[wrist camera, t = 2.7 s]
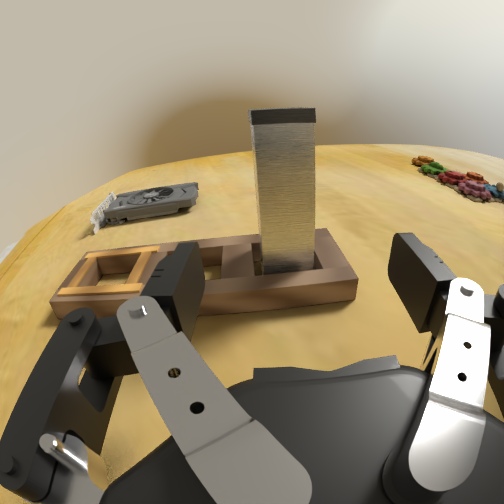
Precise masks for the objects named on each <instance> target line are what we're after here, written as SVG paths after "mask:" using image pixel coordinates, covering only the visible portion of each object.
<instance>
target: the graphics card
mask: <svg viewBox="0 0 504 504" xmlns="http://www.w3.org/2000/svg"><path fill="white" fill-rule="evenodd" d="M197 190H199V189H198V183H196V182H193V183H186V184H178V185H171V186H164V187H158V188H151V189H145V190H139V191H133V192H128V193H122V194H119V195H116V196H117V199H115V194H114V192H112V193H109V196H108V197H107V198H106V199H105V200H104V201H103V202H102V203H101V204H100V205H99V206H98V207H97V208H96V209H95V210H94V212H93V213H92V217H91V218H90V220H91V224H93V223H94V224H95V228H94V229H93V231H94V234H96V233H97V232H98V230H99V229H100V228H102V227H105V225H106V224H107V223H109V219H110V220H111V223H114V224H112V225H115V224H117V223H116V222H119V224H121V223H124V222H125V220H123V219H122V218H127V221H128V220H134V219H140V218H146V217H153V216H159V215H166V214H172V213H177V212H178V209H179V208H182V207H190V206H193V205H195V204H196V201H195V200H196V199H197V197H198V191H197ZM107 200H108V202H109V204H108V202H107ZM105 202H107V207H108V206H109V207H108V208H107V209H106V203H105ZM104 203H105V204H104ZM103 204H104V206H105V209H104V207H103ZM101 207H102V209H103V212H104V213H103V214H102V215H101V214H100V212H99V209H100V211H101V213H102V209H101ZM97 213H98V214H97ZM95 214H96V215H95ZM93 215H94V216H93ZM95 217H96V218H95ZM94 218H95V219H94ZM116 220H117V221H116ZM114 221H116V222H114ZM111 223H109V224H111Z"/></svg>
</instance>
